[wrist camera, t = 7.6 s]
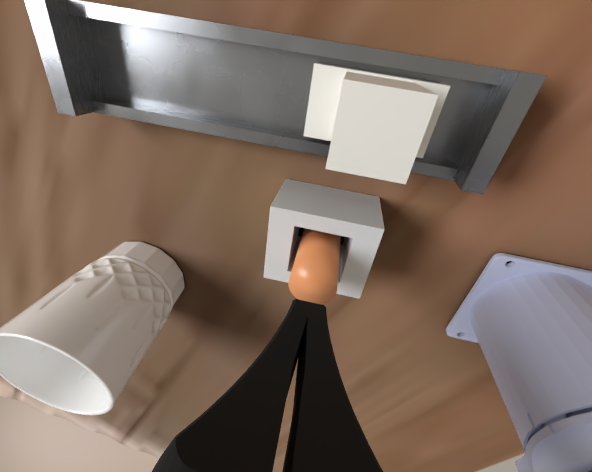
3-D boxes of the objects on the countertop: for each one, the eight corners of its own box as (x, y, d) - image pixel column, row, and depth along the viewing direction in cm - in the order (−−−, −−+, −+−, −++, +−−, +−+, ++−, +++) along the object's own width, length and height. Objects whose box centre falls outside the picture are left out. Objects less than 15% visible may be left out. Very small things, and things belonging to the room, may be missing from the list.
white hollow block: (379, 196, 18) (384, 229, 15) (358, 259, 21) (359, 298, 18) (285, 178, 19) (270, 206, 15) (277, 242, 21) (263, 277, 18)
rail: (509, 70, 14) (547, 75, 11) (462, 171, 16) (482, 194, 14) (79, 1, 15) (21, -10, 13) (102, 103, 18) (58, 112, 15)
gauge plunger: (344, 226, 17) (342, 273, 13) (336, 258, 18) (331, 308, 15) (305, 218, 17) (291, 262, 14) (299, 250, 19) (285, 298, 15)
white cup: (209, 279, 25) (135, 395, 16) (164, 316, 28) (85, 426, 20) (129, 216, 22) (-4, 312, 14) (92, 265, 26) (-30, 365, 18)
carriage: (443, 83, 14) (489, 99, 9) (418, 151, 15) (445, 194, 11) (317, 62, 14) (297, 67, 9) (306, 130, 16) (286, 163, 11)
